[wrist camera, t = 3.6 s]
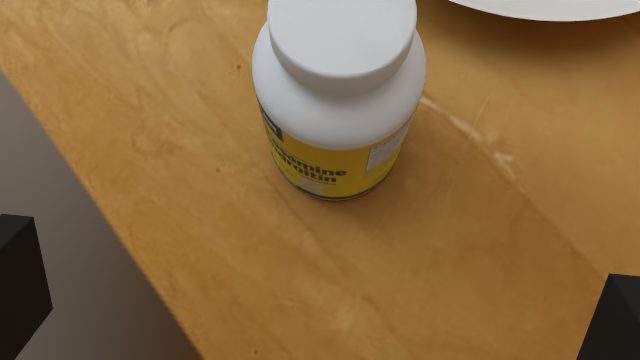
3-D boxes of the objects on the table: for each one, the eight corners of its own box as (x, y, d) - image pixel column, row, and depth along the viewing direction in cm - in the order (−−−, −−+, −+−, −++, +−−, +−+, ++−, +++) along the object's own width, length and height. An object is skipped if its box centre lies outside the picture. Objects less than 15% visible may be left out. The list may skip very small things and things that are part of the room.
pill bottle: (250, 117, 29) (202, -31, 18) (361, 66, 29) (381, -107, 18) (306, 227, 27) (292, 140, 16) (422, 169, 28) (486, 48, 17)
